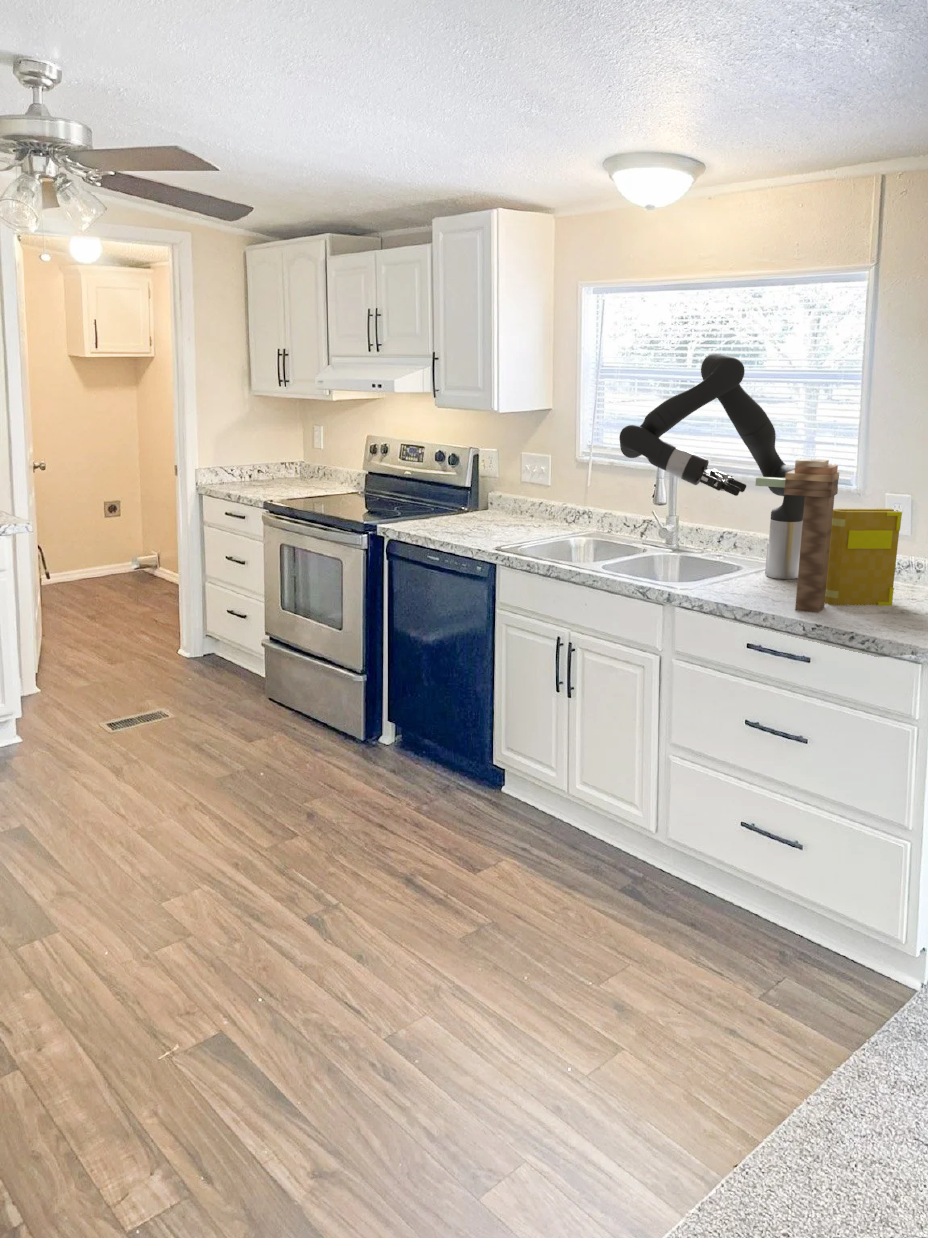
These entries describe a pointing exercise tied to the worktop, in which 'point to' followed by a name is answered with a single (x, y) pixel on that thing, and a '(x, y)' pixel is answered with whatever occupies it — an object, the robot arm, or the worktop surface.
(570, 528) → the worktop surface
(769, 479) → the block
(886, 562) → the book
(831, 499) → the tall brown wooden column
